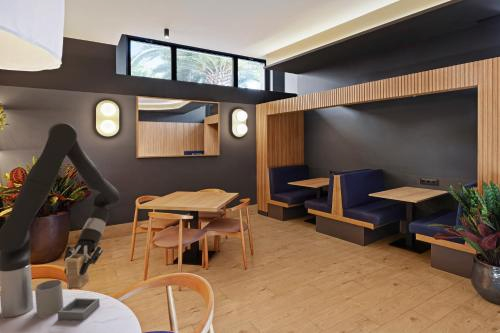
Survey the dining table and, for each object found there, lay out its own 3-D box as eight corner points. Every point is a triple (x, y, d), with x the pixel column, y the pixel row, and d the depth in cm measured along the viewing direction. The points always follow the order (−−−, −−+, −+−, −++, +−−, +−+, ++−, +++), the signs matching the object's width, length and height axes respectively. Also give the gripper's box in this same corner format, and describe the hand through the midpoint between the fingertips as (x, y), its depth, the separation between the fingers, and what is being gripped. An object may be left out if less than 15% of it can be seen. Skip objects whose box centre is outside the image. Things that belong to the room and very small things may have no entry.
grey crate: (83, 320, 105) (83, 312, 105) (58, 319, 106) (57, 311, 106) (99, 306, 115) (99, 298, 114) (76, 305, 115) (75, 298, 115)
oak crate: (80, 288, 107) (78, 259, 106) (67, 288, 107) (65, 259, 107) (89, 282, 112) (87, 254, 111) (76, 282, 112) (74, 253, 112)
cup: (49, 317, 108) (48, 291, 107) (31, 315, 109) (29, 289, 109) (68, 305, 116) (66, 280, 115) (50, 303, 117) (49, 279, 117)
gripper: (70, 227, 116) (49, 270, 105) (105, 227, 115) (87, 270, 104) (80, 236, 122) (61, 277, 111) (113, 236, 121) (97, 278, 109)
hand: (74, 274), depth 107 cm, fingers closed on oak crate, 5 cm apart
